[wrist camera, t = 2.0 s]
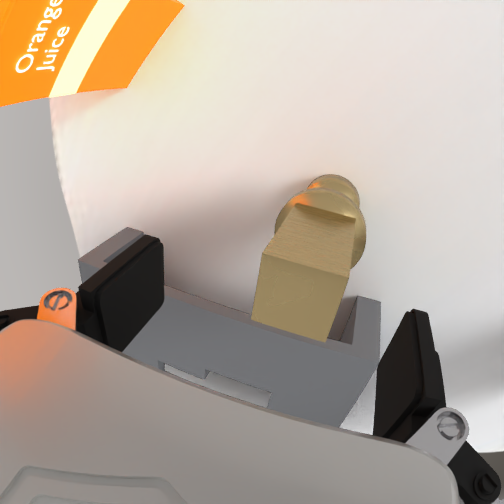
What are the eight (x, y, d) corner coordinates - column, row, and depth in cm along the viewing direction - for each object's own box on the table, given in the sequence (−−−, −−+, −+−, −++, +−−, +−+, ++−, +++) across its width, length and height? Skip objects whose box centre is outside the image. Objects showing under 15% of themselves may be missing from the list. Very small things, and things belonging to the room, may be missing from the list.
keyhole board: (380, 302, 25) (379, 362, 19) (321, 420, 34) (307, 469, 28) (127, 227, 30) (77, 259, 24) (139, 353, 39) (109, 389, 33)
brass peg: (374, 178, 21) (380, 263, 10) (356, 241, 23) (339, 363, 13) (304, 159, 22) (241, 224, 12) (292, 223, 24) (228, 328, 14)
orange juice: (186, 5, 19) (-73, -33, 2) (127, 89, 24) (-105, 145, 7) (130, -29, 18) (-80, -54, 1) (81, 47, 23) (-116, 78, 6)
